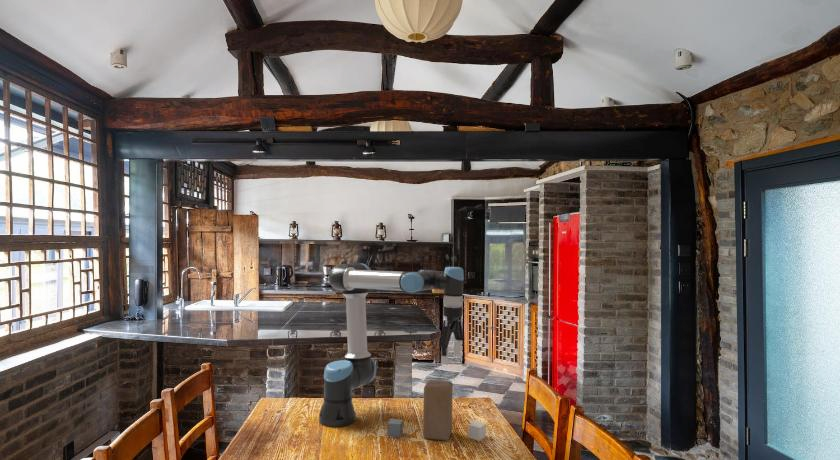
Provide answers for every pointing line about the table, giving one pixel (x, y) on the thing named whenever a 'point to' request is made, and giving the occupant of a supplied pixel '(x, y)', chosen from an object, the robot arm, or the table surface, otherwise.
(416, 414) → the table surface
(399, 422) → the slate cube
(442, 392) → the block
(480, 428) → the white cube
